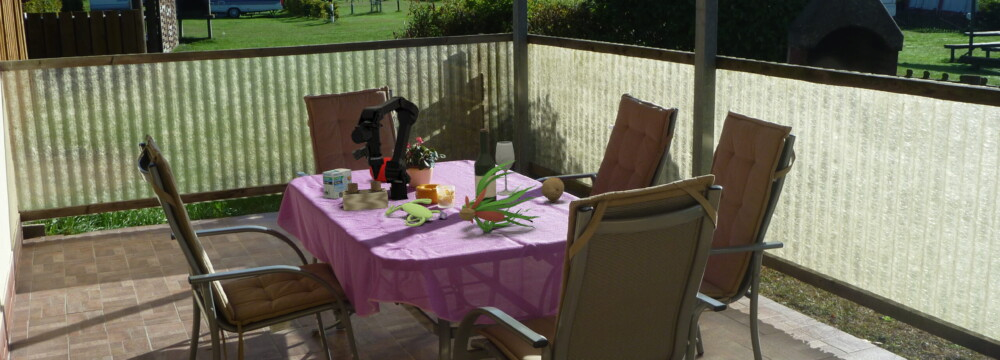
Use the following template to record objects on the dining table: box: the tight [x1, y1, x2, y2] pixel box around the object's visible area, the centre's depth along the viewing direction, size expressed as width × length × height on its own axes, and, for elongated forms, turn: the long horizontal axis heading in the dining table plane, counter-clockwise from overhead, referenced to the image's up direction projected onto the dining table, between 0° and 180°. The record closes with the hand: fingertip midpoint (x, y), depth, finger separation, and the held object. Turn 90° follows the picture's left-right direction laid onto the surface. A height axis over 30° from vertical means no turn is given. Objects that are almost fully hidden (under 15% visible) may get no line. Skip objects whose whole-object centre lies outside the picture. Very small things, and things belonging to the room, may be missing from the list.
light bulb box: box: [322, 167, 353, 200], centre depth 440 cm, size 11×7×11 cm, turn 143°
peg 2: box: [370, 180, 382, 192], centre depth 418 cm, size 4×4×6 cm
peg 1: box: [347, 182, 359, 193], centre depth 417 cm, size 4×4×6 cm
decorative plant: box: [458, 159, 540, 233], centre depth 372 cm, size 26×25×30 cm
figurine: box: [384, 198, 448, 227], centre depth 396 cm, size 18×27×6 cm
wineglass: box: [495, 141, 516, 196], centre depth 433 cm, size 8×8×21 cm
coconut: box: [540, 176, 565, 203], centre depth 414 cm, size 9×9×10 cm
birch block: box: [342, 187, 389, 212], centre depth 418 cm, size 17×10×6 cm, turn 101°
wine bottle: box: [473, 128, 498, 206], centre depth 409 cm, size 8×8×30 cm
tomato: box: [369, 155, 392, 183], centre depth 470 cm, size 12×13×11 cm
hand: (375, 179), depth 417 cm, fingers closed
